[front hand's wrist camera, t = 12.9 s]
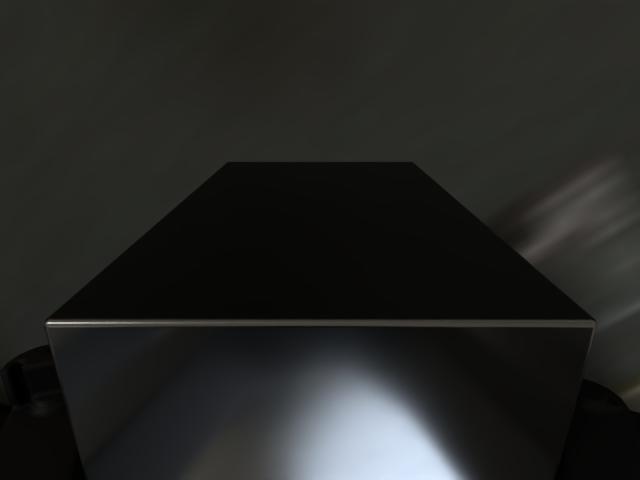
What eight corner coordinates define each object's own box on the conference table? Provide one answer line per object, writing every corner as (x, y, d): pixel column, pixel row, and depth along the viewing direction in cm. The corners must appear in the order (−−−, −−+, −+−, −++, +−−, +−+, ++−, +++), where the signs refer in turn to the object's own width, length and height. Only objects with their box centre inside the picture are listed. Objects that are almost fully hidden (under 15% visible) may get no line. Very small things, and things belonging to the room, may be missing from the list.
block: (413, 161, 15) (602, 321, 5) (399, 336, 17) (505, 673, 8) (226, 161, 15) (39, 321, 5) (240, 336, 17) (135, 673, 8)
